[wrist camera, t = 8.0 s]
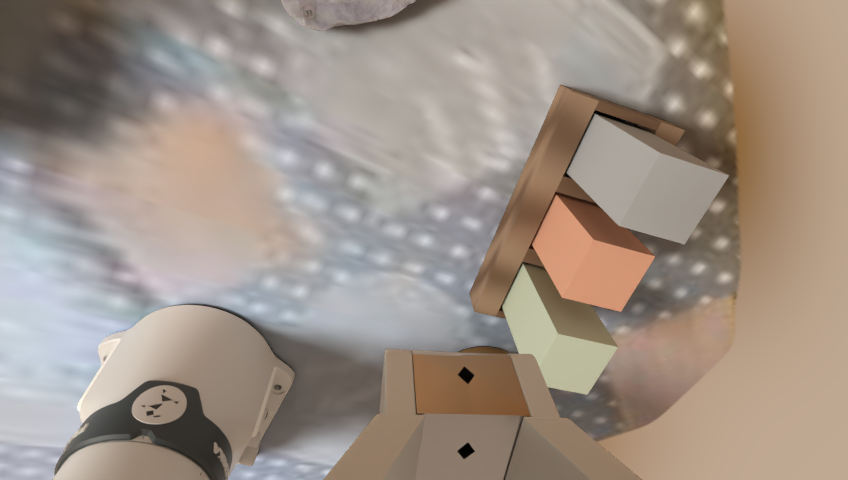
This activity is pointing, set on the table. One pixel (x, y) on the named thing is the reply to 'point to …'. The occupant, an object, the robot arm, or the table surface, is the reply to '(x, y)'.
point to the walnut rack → (546, 189)
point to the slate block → (644, 179)
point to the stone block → (341, 11)
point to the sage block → (557, 331)
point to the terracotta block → (589, 253)
